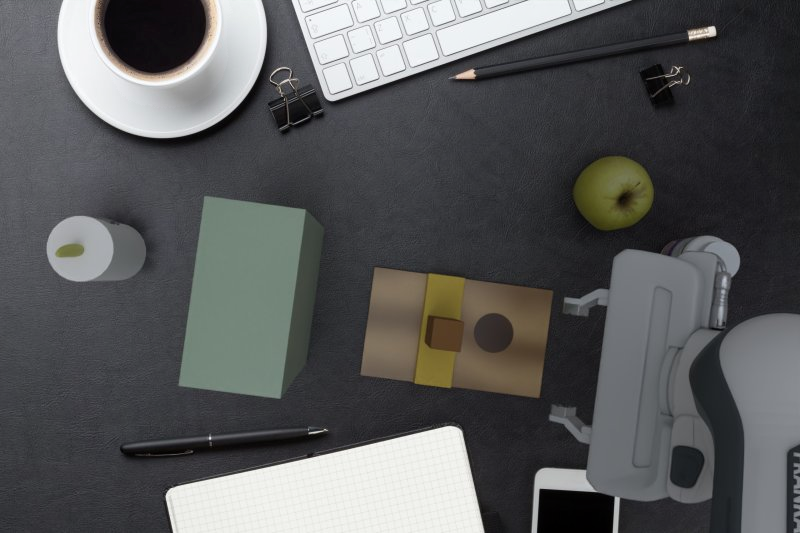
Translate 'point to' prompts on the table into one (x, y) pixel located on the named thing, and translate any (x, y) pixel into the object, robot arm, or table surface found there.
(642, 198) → the apple
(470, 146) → the table surface
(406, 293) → the mat
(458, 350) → the wiper
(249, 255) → the tall sage green box
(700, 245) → the pill bottle
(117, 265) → the candle
